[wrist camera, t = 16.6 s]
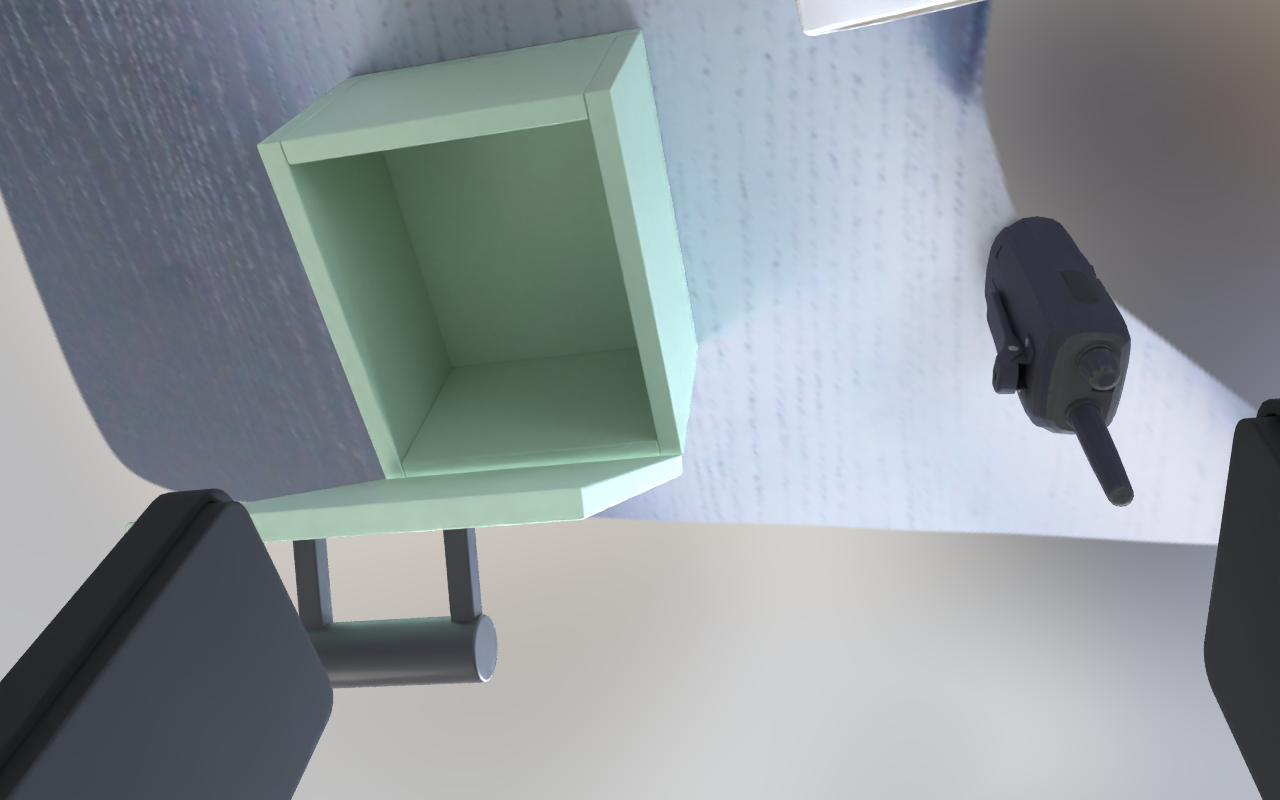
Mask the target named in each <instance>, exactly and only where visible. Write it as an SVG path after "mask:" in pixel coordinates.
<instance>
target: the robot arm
mask: <svg viewBox="0 0 1280 800" xmlns="http://www.w3.org/2000/svg"><path fill="white" fill-rule="evenodd" d="M1204 661H1205V667H1206V672H1207V676H1208V680H1209V683H1210V685H1211V688H1212V691H1213V693H1214V695H1215V697H1216V699H1217V701H1218V704H1219V706H1220V708H1221V710H1222V712H1223V714H1224V717H1225V719H1226V721H1227V723H1228V725H1229V727H1230V730H1231V732H1232V734H1233V736H1234V738H1235V740H1236V743H1237V745H1238V747H1239V749H1240V751H1241V753H1242V756H1243V758H1244V760H1245V762H1246V764H1247V767H1248V769H1249V771H1250V773H1251V775H1252V777H1253V780H1254V782H1255V784H1256V786H1257V788H1258V791H1259V793H1260V795H1261V797H1262V799H1263V800H1280V399H1269V400H1267V401H1265V402H1263V403H1262V405H1261V407H1260V408H1259V410H1258V413H1257V417H1256V418H1246V419H1242V420H1240V421H1239V422H1238V424H1237V426H1236V428H1235V432H1234V438H1233V445H1232V452H1231V459H1230V466H1229V473H1228V480H1227V487H1226V494H1225V501H1224V508H1223V515H1222V522H1221V529H1220V536H1219V543H1218V550H1217V557H1216V564H1215V571H1214V578H1213V585H1212V592H1211V599H1210V606H1209V613H1208V620H1207V627H1206V634H1205V641H1204ZM332 705H333V691H332V685H331V682H330V679H329V677H328V675H327V673H326V671H325V669H324V667H323V665H322V663H321V661H320V659H319V657H318V654H317V652H316V650H315V648H314V646H313V644H312V642H311V640H310V638H309V636H308V634H307V632H306V630H305V628H304V626H303V624H302V622H301V619H300V617H299V616H298V613H297V612H296V609H295V607H294V605H293V603H292V601H291V599H290V597H289V595H288V593H287V591H286V589H285V587H284V585H283V583H282V580H281V579H280V576H279V574H278V572H277V570H276V568H275V566H274V564H273V562H272V560H271V558H270V556H269V554H268V552H267V550H266V548H265V546H264V543H263V541H262V539H261V537H260V535H259V533H258V531H257V529H256V527H255V525H254V523H253V521H252V519H251V517H250V515H249V513H248V511H247V510H246V508H245V507H244V506H243V505H242V504H241V503H239V502H235V501H233V500H232V499H231V497H230V496H229V495H228V494H227V493H225V492H224V491H223V490H219V489H204V490H192V491H181V492H169V493H166V494H162V495H160V496H159V497H158V498H156V499H155V500H154V501H153V502H152V503H151V504H150V505H149V506H148V508H147V509H146V510H145V511H144V512H143V514H142V515H141V516H140V517H139V518H138V520H137V521H136V522H135V523H134V524H133V525H132V527H131V528H130V529H129V530H128V531H127V533H126V534H125V535H124V536H123V538H121V540H120V541H119V542H118V543H117V544H116V546H115V547H114V548H113V549H112V550H111V551H110V553H109V554H108V555H107V556H106V557H105V559H104V560H103V561H102V562H101V563H100V564H99V566H98V567H97V568H96V569H95V571H94V572H93V573H92V574H91V575H90V576H89V578H88V579H87V580H86V581H85V582H84V583H83V585H82V586H81V587H80V588H79V589H78V591H77V592H76V593H75V594H74V595H73V597H72V598H71V599H70V600H69V601H68V603H67V604H66V605H65V606H64V607H63V608H62V609H61V611H60V612H59V613H58V614H57V615H56V617H55V618H54V619H53V620H52V621H51V623H50V624H49V625H48V626H47V627H46V628H45V630H44V631H43V632H42V633H41V634H40V636H39V637H38V638H37V639H36V640H35V642H34V643H33V644H32V645H31V646H30V647H29V649H28V650H27V651H26V652H25V653H24V654H23V656H22V657H21V658H20V659H19V660H18V662H17V663H16V664H15V665H14V666H13V668H12V669H11V670H10V671H9V672H8V673H7V675H6V676H5V677H4V678H3V679H2V681H1V682H0V800H291V799H292V796H293V794H294V792H295V790H296V788H297V786H298V784H299V781H300V779H301V777H302V775H303V773H304V771H305V769H306V767H307V765H308V762H309V760H310V758H311V756H312V754H313V752H314V750H315V748H316V745H317V743H318V741H319V739H320V737H321V735H322V733H323V731H324V728H325V726H326V724H327V722H328V720H329V717H330V714H331V711H332Z"/></svg>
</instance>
